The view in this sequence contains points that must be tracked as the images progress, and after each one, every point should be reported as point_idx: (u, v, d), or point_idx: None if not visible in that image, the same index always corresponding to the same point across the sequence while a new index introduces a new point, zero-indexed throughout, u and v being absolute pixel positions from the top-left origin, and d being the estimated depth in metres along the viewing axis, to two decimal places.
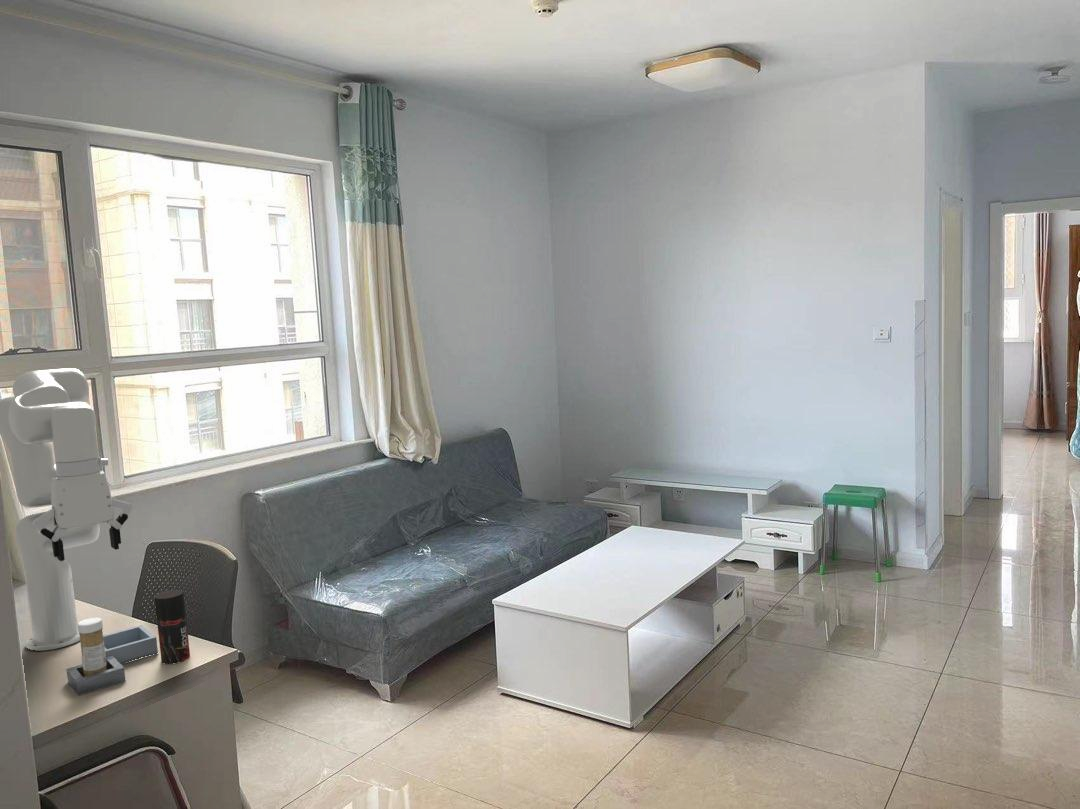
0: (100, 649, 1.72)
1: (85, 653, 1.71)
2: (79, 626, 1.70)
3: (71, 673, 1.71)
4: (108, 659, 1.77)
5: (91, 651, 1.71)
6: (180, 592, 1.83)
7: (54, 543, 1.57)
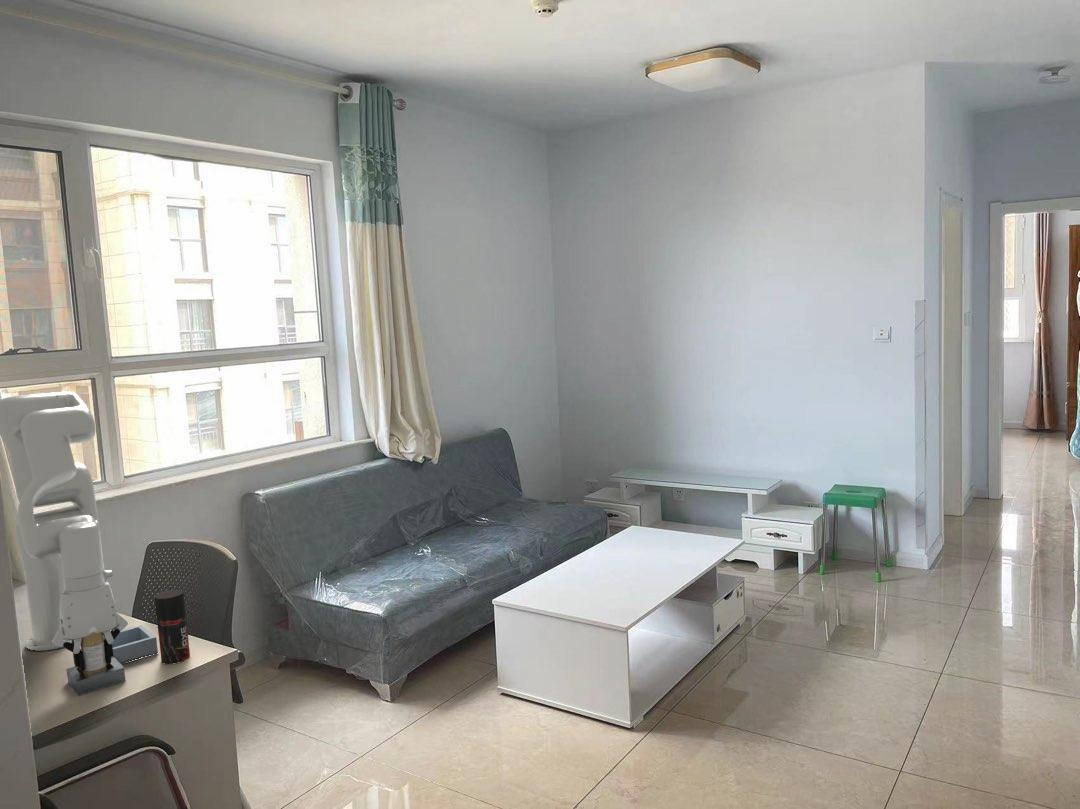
0: (100, 649, 1.72)
1: (85, 653, 1.71)
2: None
3: (71, 673, 1.71)
4: None
5: (91, 651, 1.71)
6: (180, 592, 1.83)
7: (75, 655, 1.70)
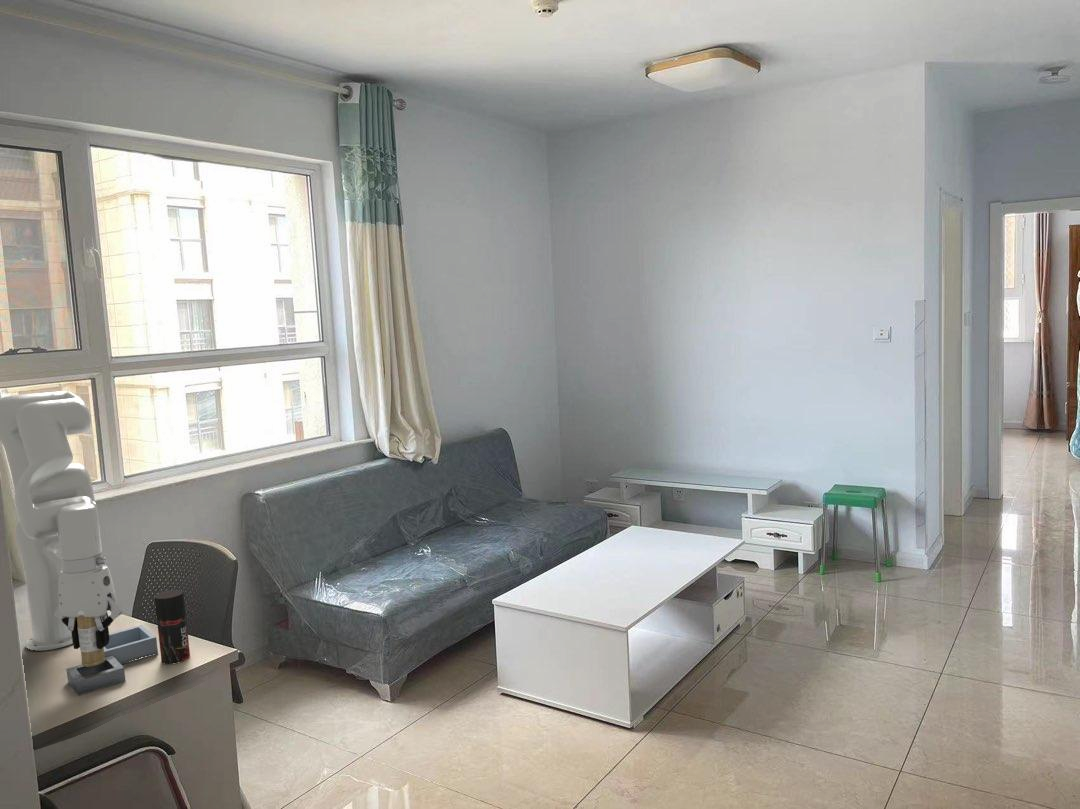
0: (89, 633, 1.71)
1: (78, 632, 1.71)
2: None
3: (71, 673, 1.71)
4: (108, 659, 1.77)
5: (81, 632, 1.71)
6: (180, 592, 1.83)
7: (72, 632, 1.72)
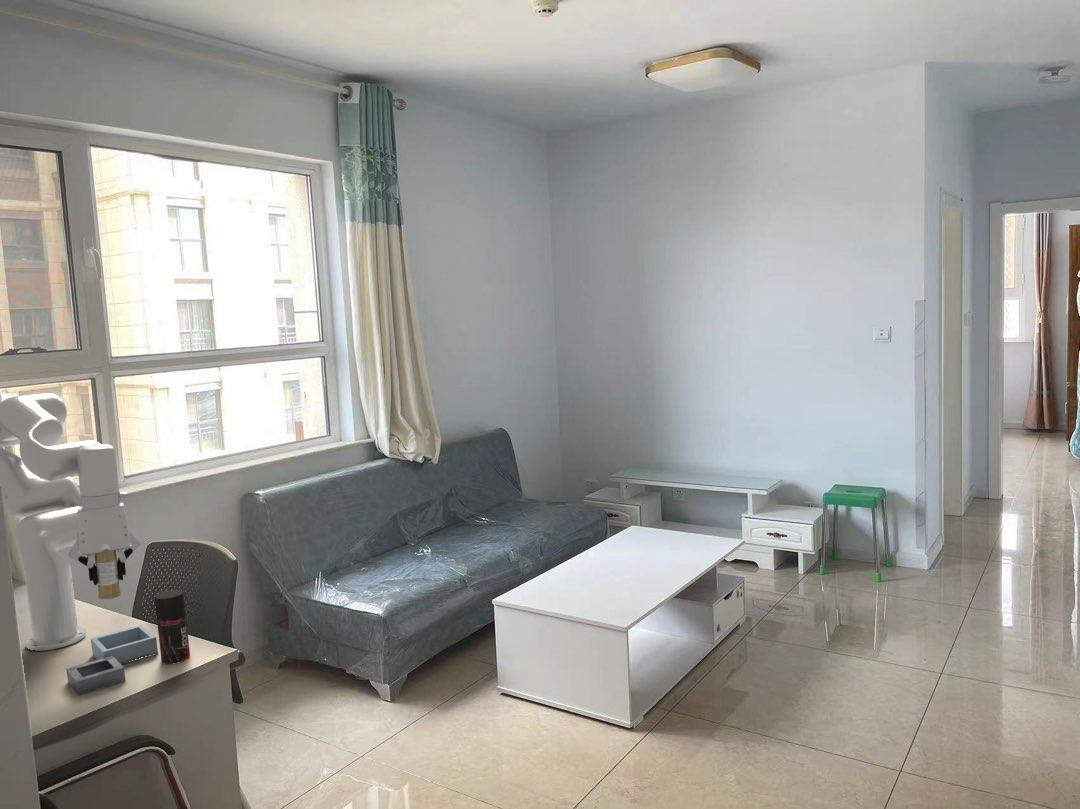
0: (113, 566, 1.81)
1: (98, 568, 1.80)
2: None
3: (71, 673, 1.71)
4: (108, 659, 1.77)
5: (104, 567, 1.80)
6: (180, 592, 1.83)
7: (89, 569, 1.79)
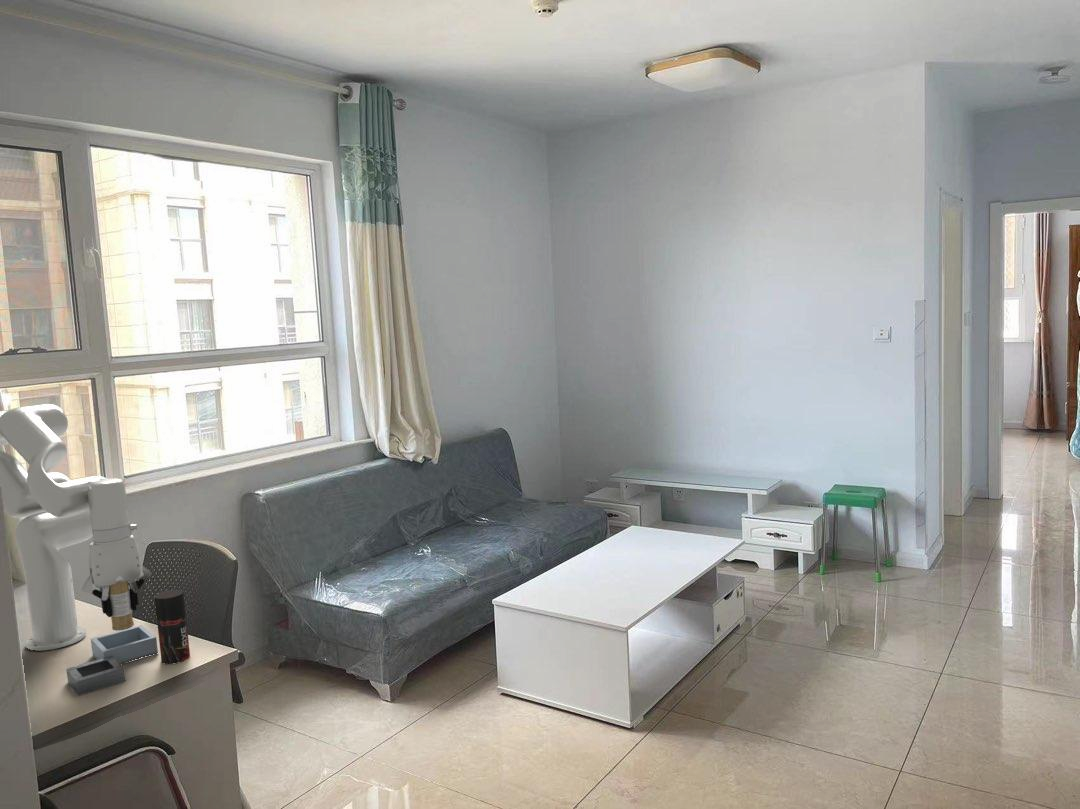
0: (126, 597, 1.85)
1: (112, 600, 1.83)
2: None
3: (71, 673, 1.71)
4: (108, 659, 1.77)
5: (118, 598, 1.84)
6: (180, 592, 1.83)
7: (103, 602, 1.83)
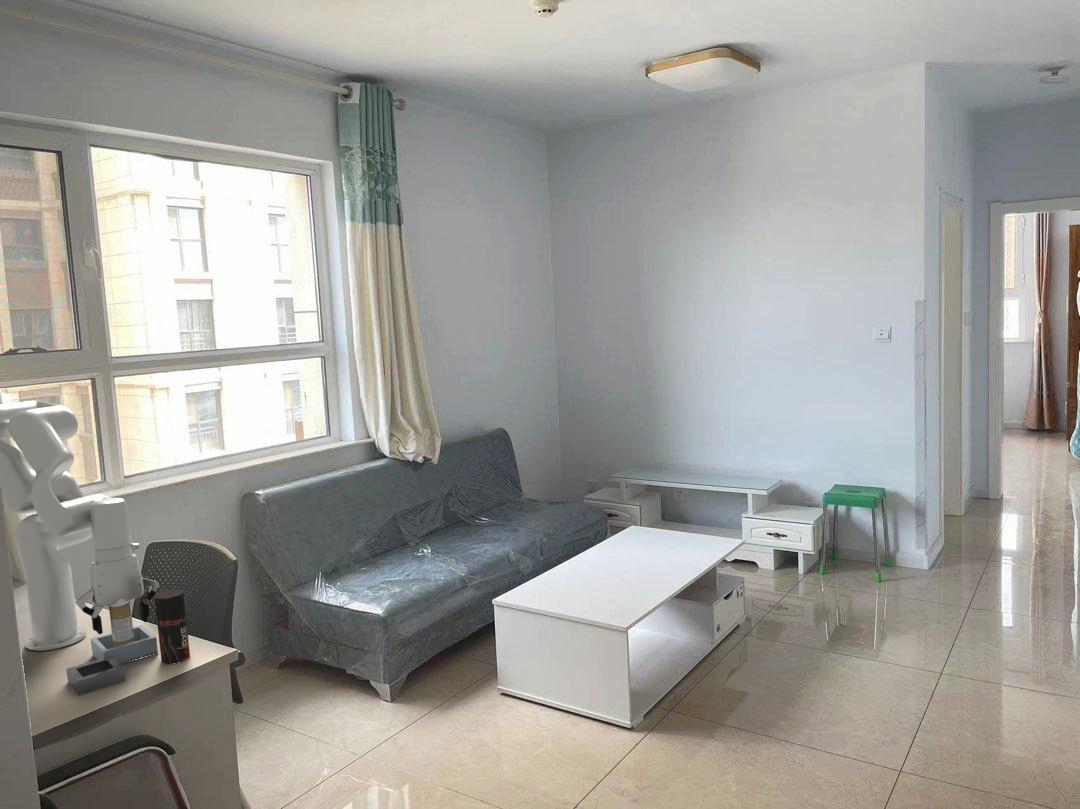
0: (128, 622, 1.86)
1: (114, 625, 1.84)
2: None
3: (71, 673, 1.71)
4: (108, 659, 1.77)
5: (120, 623, 1.84)
6: (180, 592, 1.83)
7: (94, 619, 1.82)
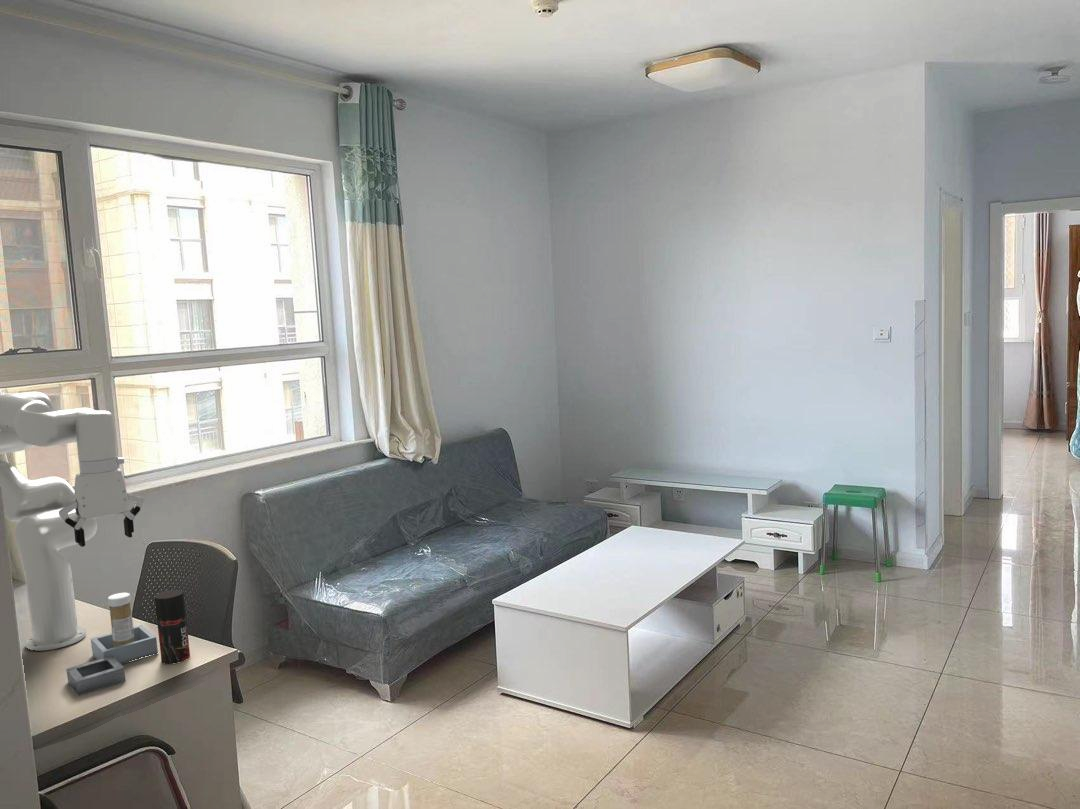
0: (129, 622, 1.86)
1: (115, 624, 1.84)
2: (109, 600, 1.84)
3: (71, 673, 1.71)
4: (108, 659, 1.77)
5: (121, 623, 1.84)
6: (180, 592, 1.83)
7: (76, 531, 1.79)
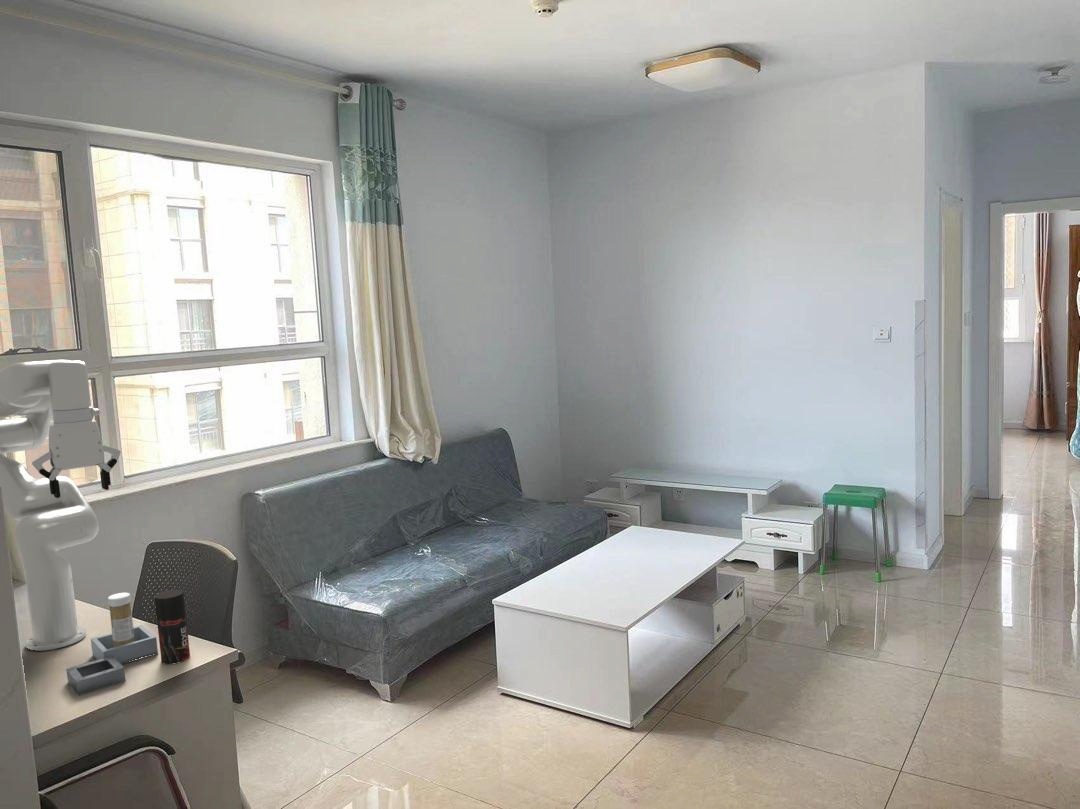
0: (129, 622, 1.86)
1: (115, 624, 1.84)
2: (109, 600, 1.84)
3: (71, 673, 1.71)
4: (108, 659, 1.77)
5: (121, 623, 1.84)
6: (180, 592, 1.83)
7: (51, 482, 1.77)
